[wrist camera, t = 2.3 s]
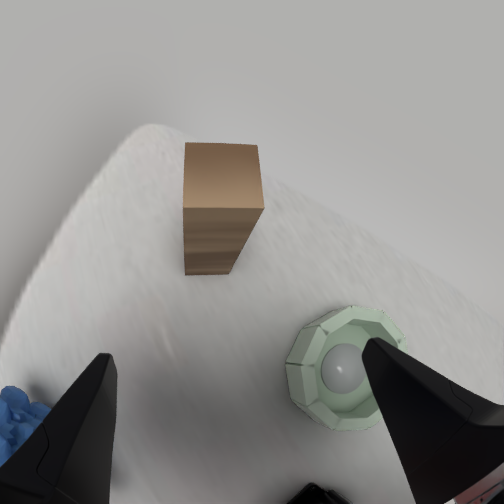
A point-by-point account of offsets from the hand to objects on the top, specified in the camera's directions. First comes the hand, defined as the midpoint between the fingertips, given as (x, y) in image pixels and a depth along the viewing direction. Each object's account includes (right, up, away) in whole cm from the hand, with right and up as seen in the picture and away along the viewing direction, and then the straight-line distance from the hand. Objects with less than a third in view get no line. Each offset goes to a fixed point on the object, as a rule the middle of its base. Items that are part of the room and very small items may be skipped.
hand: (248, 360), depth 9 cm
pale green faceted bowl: (+8, -7, +14) cm, 17 cm away
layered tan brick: (-4, +3, +15) cm, 16 cm away
